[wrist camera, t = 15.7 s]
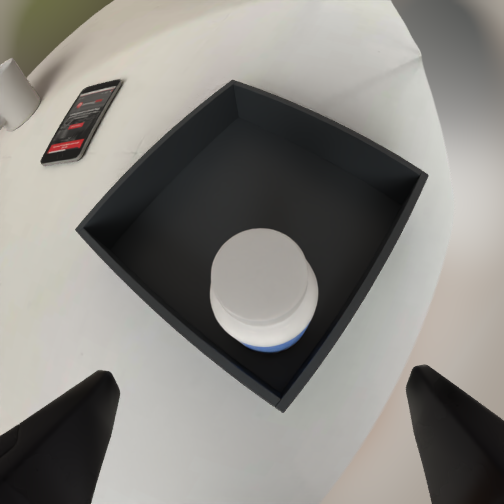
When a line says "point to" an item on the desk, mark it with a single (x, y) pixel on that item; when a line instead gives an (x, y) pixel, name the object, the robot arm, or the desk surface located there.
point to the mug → (15, 96)
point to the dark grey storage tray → (255, 221)
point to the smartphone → (80, 123)
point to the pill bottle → (263, 290)
